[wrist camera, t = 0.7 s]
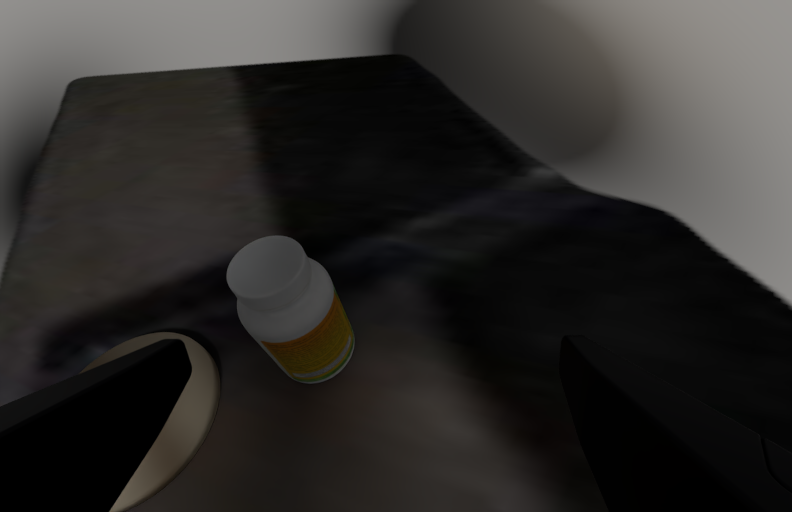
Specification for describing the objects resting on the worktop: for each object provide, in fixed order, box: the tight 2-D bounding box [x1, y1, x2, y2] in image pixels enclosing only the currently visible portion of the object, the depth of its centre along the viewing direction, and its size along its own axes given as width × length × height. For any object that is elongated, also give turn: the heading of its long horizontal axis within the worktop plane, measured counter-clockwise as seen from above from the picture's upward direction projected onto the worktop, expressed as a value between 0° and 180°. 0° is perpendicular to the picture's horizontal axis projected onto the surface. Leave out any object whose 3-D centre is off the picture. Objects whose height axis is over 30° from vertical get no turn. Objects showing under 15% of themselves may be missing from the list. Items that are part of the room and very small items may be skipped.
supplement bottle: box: [227, 236, 355, 384], centre depth 22 cm, size 5×5×10 cm
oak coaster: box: [79, 332, 220, 512], centre depth 24 cm, size 11×11×1 cm
